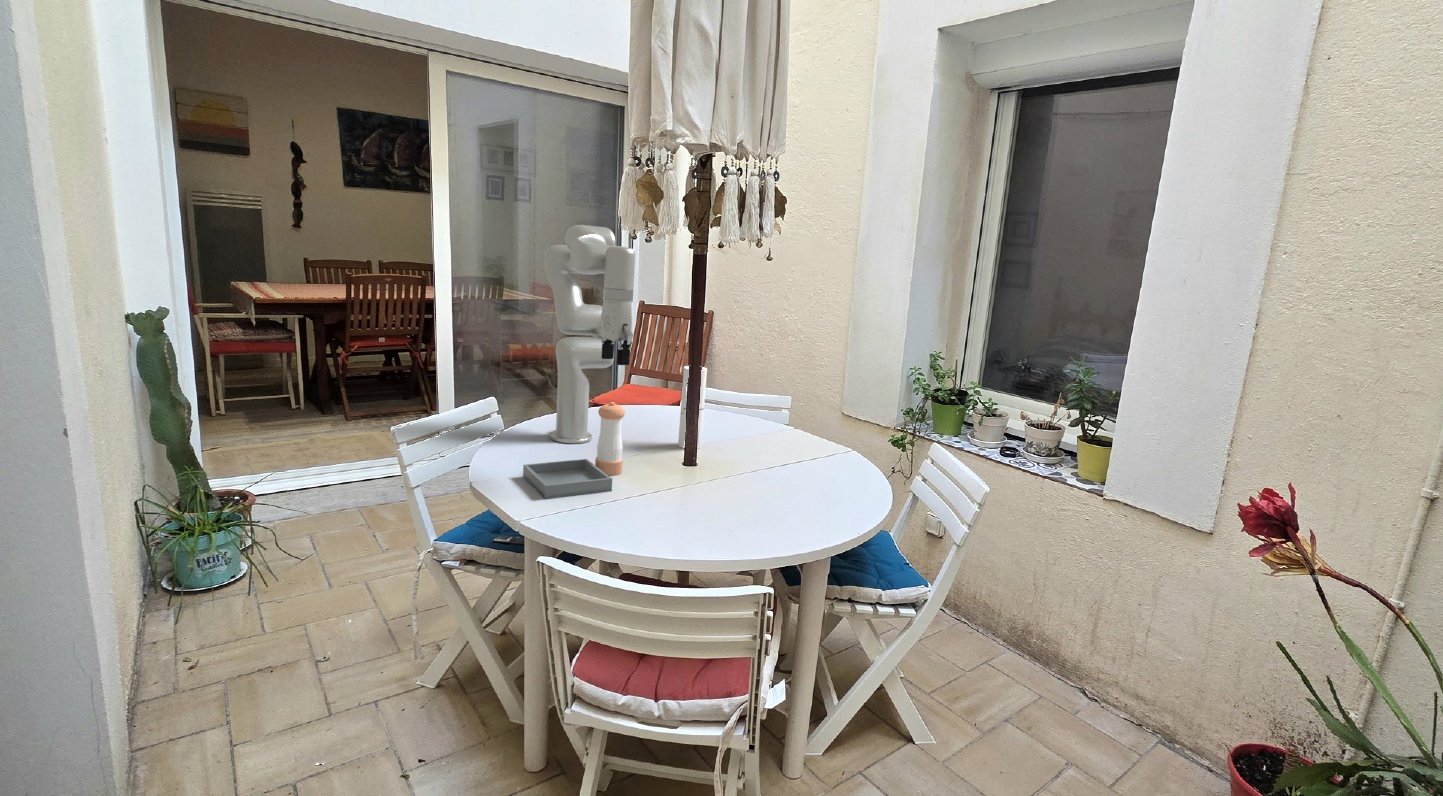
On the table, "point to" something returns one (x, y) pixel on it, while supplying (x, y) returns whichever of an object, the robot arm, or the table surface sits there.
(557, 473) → the tray
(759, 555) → the table surface
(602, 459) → the pepper shaker
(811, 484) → the table surface
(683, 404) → the cylindrical container
